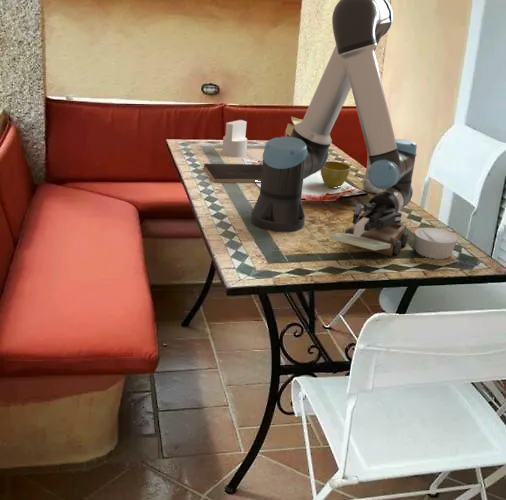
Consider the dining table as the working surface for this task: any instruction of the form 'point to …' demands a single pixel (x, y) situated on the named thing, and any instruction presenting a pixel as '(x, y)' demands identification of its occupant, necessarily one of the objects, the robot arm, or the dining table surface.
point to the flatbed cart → (385, 237)
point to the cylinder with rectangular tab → (235, 139)
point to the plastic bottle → (366, 183)
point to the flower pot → (334, 173)
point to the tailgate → (360, 241)
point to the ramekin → (434, 242)
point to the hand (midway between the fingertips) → (357, 230)
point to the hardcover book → (234, 172)
